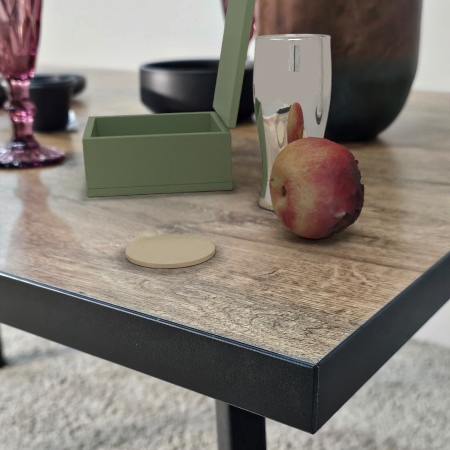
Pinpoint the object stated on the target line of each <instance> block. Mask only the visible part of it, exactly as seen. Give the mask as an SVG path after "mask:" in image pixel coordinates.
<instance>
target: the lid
mask: <svg viewBox="0 0 450 450" xmlns="http://www.w3.org/2000/svg"><path fill="white" fill-rule="evenodd" d="M255 7H256V0H227V7H226V12H225V19H224V26H223V27H224V28H223V33H222V41H221V47H220V54H219V61H218V69H217V74H216V75H217V76H216V82H215V88H214V96H213V103H212V108H213V109H214V112H217V114H218V115H219V117H220V118H221V119H222V121H223V122H224V124H225V125H226V126H227V128H228V129H229V128H230V129H236V126H237V121H238V114H239V108H240V101H241V95H242V89H243V82H244V75H245V70H246V64H247V63H246V62H247V56H248V50H249V44H250V38H251V32H252V26H253V19H254V12H255Z"/></svg>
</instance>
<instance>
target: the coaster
mask: <svg viewBox="0 0 450 450" xmlns="http://www.w3.org/2000/svg"><path fill="white" fill-rule="evenodd" d="M124 253H125V258H126V260H128V261H129V262H131V263H132V264H134V265H137V266H141V267H145V268H153V269H178V268H186V267H192V266H196V265H199V264H203V263H204V262H207V261H209V260H210V259H211V258H213V257H214V255H215V253H216V246H215V244H214V243H213V241H211V240H210V239H207V238H204V237H201V236H198V235H192V234H183V233H173V234H170V233H169V234H168V233H167V234H159V235H152V236H148V237H144V238H140V239H138V240H135V241H133V242H131V243H130V244H128V245H127V246H126V248H125V251H124Z"/></svg>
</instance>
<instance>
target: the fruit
mask: <svg viewBox="0 0 450 450" xmlns="http://www.w3.org/2000/svg"><path fill="white" fill-rule="evenodd" d="M359 163H360V161H359V160H358V159H356V158H355V155H354V154H353V152H351V151H350V149H349V148H348V147H345V146H344V145H342V144H339V143H336V142H335V141H333V140H332V141H331V140H330V139H328V138H325V137H324V138H319V137H307V138H305V137H304V138H303V139H299V140H296V141H293V142H291V143H289V144H288V145H287V146H286V147H285V148H283V149H282V150H281V152H280V153H279V154H278V156H277V157H276V159H275V161H274V163H273V166H272V170H271V175H270V180H269V188H270V195H271V202H272V206H273V209H274V211H273V212H274V214H275V216H276V218H277V219H278V220H279V221H280V222H281V224H282V226H283V227H285V228H286V229H287V230H288V231H289V232H291V233H294V234H296V235H297V236H299V237H301V238H306V239H317V240H319V239H325V238H328V237H333V236H335V235H336V234H338V233H340V232H343V231H344V230H346V229H347V228H349V227H350V226H352V225H354V224H355V222H356V221H358V219H359V218H360V215H361V214H362V210H363V207H364V203H365V184H364V183H362V182H361V180H362V177H363V176H362V172H361V170H359V166H358V165H359Z"/></svg>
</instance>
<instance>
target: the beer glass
mask: <svg viewBox="0 0 450 450" xmlns="http://www.w3.org/2000/svg"><path fill="white" fill-rule="evenodd" d="M254 40H255V41H254V42H255V43H254V57H253V70H252V93H253V94H252V99H253V110H254V118H255V124H256V129H257V136H258V141H259V147H260V148H259V149H260V154H261V165H262V167H261V169H262V170H261V181H260V187H259V193H258V198H257V200H258V201H257V203H258V206H260V207H261V208H262V209H265V210H267V211H272V212H274V209H273V206H272V202H271V195H270V188H269V180H270V175H271V170H272V166H273V163H274V161H275V159H276V157H277V156H278V154H279V153H280V152H281V150H282V149H283V148H285V147H286V146H287V145H288V144H289V143H291V142H293V141H296V140H299V139H303V138H304V137H305V138H307V137H319V138H325V134H326V129H327V123H328V118H329V113H330V105H331V104H330V103H331V98H332V97H331V94H332V51H331V50H332V49H331V35H329V34H321V33H320V34H319V33H318V34H317V33H284V34H283V33H282V34H266V35H265V34H264V35H263V34H262V35H258V36H255V37H254Z"/></svg>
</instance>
